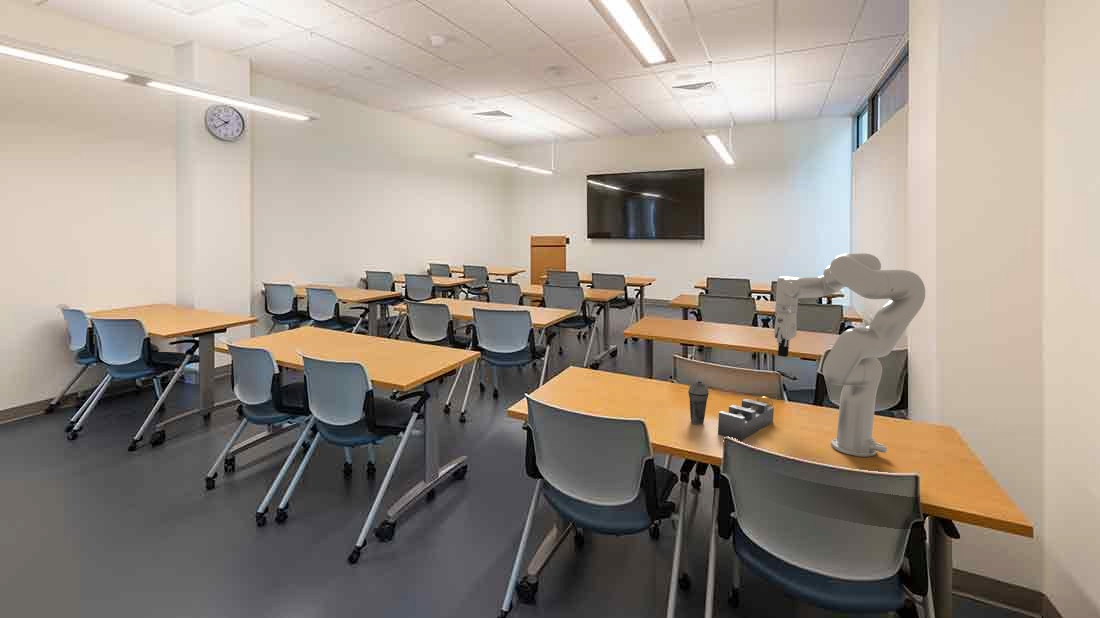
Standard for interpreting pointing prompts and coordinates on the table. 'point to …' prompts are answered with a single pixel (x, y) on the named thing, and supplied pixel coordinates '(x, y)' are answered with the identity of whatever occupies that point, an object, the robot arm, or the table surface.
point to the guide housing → (744, 419)
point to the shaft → (761, 399)
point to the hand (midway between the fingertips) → (782, 355)
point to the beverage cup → (698, 401)
